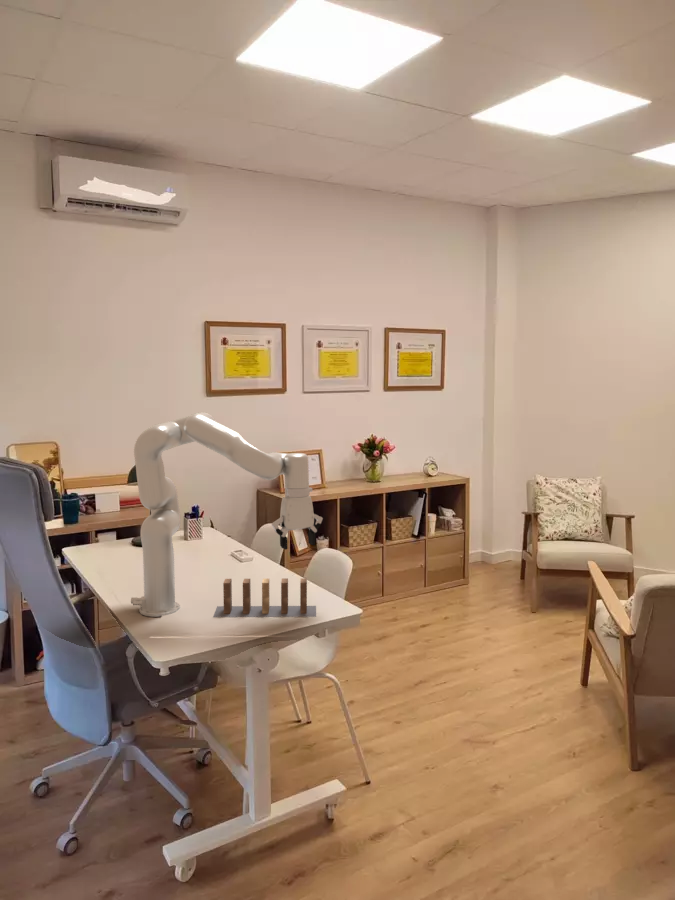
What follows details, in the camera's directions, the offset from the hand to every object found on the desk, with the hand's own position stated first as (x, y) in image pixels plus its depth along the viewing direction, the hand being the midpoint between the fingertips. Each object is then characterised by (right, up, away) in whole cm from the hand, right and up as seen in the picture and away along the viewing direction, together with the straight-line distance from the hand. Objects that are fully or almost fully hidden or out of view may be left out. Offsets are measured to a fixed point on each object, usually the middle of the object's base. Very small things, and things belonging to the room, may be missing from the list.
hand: (298, 546), depth 217 cm
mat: (-10, -21, +2) cm, 24 cm away
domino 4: (-4, -21, +2) cm, 22 cm away
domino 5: (+2, -21, +2) cm, 21 cm away
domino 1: (-22, -21, +2) cm, 31 cm away
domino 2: (-16, -21, +2) cm, 27 cm away
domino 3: (-10, -21, +2) cm, 23 cm away
